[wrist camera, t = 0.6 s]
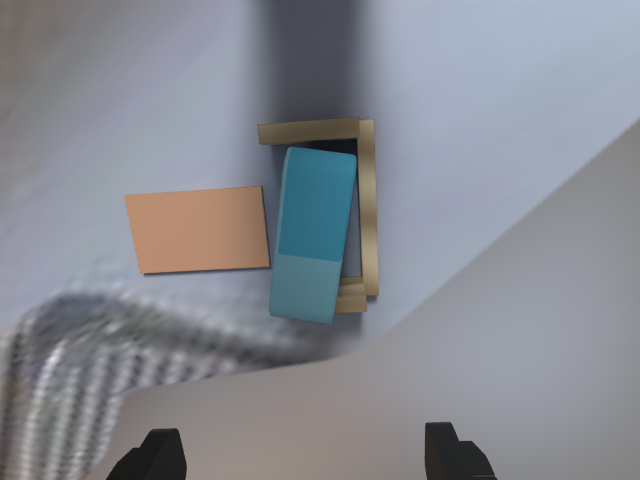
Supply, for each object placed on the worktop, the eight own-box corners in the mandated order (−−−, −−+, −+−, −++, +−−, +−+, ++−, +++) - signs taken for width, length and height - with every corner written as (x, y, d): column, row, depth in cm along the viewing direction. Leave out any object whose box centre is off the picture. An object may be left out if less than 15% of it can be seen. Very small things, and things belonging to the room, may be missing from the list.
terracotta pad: (127, 195, 34) (123, 195, 34) (262, 186, 33) (260, 186, 33) (143, 271, 36) (140, 273, 36) (270, 264, 35) (269, 266, 35)
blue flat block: (332, 273, 35) (331, 333, 24) (289, 267, 35) (266, 324, 24) (350, 154, 32) (358, 155, 21) (302, 147, 32) (284, 145, 21)
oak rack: (269, 128, 32) (257, 124, 27) (371, 120, 31) (378, 115, 27) (285, 293, 36) (278, 315, 31) (377, 289, 36) (383, 310, 31)
